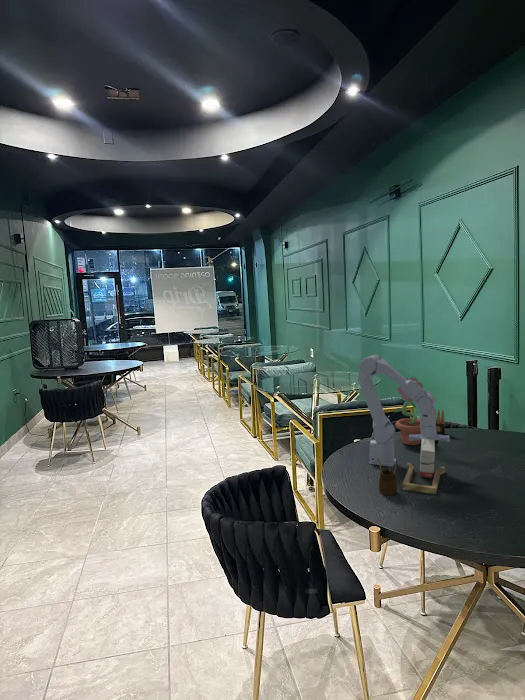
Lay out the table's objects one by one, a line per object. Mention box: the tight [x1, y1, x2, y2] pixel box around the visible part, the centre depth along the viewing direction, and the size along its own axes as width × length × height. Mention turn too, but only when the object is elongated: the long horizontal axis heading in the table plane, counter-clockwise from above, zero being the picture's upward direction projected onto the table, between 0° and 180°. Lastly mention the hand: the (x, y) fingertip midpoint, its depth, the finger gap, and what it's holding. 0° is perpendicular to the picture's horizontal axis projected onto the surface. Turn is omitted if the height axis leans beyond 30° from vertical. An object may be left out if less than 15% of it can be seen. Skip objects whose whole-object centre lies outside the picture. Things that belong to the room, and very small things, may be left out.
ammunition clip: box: [435, 409, 446, 435], centre depth 218 cm, size 11×2×12 cm, turn 68°
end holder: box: [402, 462, 446, 495], centre depth 166 cm, size 14×21×2 cm, turn 154°
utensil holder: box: [378, 457, 398, 496], centre depth 157 cm, size 6×6×12 cm
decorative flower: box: [393, 376, 424, 446], centre depth 205 cm, size 15×14×30 cm
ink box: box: [419, 438, 436, 479], centre depth 169 cm, size 9×5×12 cm, turn 160°
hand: (430, 458), depth 175 cm, fingers closed, pressing on ink box
